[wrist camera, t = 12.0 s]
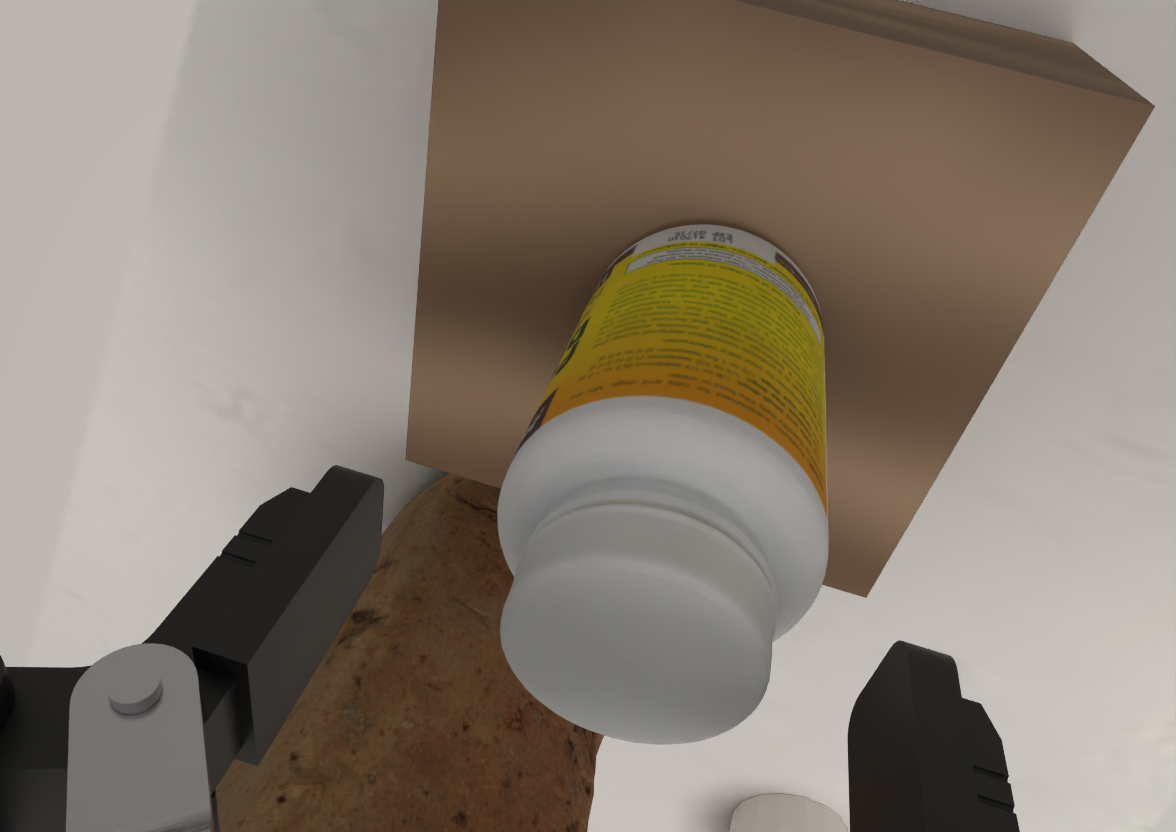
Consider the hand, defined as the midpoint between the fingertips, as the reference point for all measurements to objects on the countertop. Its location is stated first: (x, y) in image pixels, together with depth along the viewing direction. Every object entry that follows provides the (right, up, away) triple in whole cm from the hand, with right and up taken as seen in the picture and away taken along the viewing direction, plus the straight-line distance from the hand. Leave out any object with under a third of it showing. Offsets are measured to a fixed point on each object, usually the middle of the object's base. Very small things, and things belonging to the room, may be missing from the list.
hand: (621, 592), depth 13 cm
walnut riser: (+3, +8, +12) cm, 15 cm away
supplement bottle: (+2, +5, +7) cm, 9 cm away
